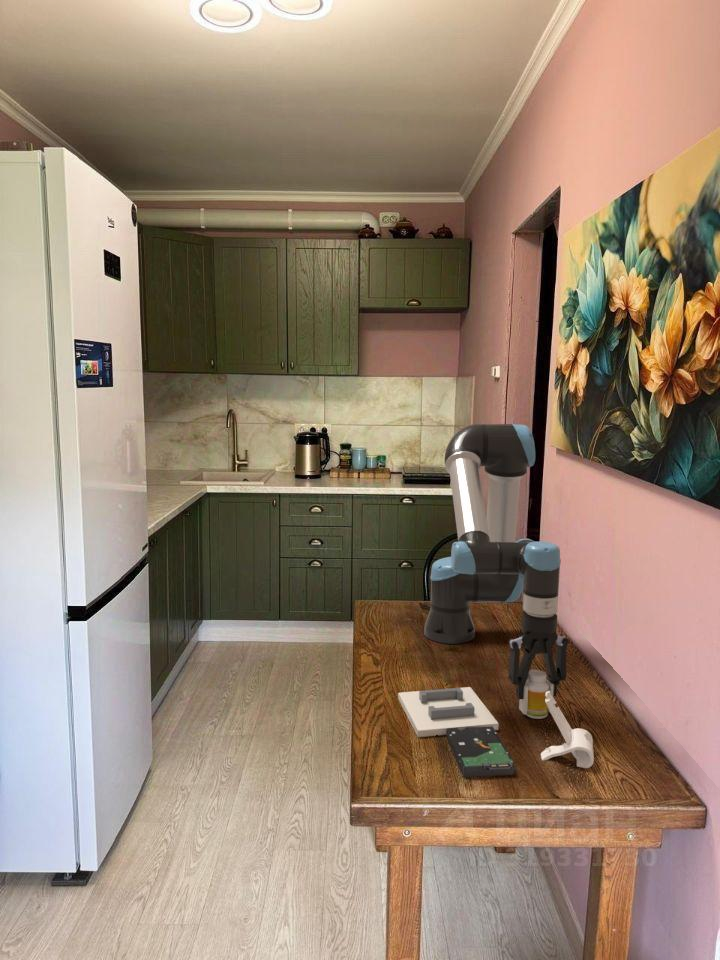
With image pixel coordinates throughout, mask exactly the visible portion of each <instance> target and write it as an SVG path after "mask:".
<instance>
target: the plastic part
mask: <svg viewBox="0 0 720 960" xmlns="http://www.w3.org/2000/svg"><path fill="white" fill-rule="evenodd" d="M545 696H546V698H547V699H545V700H546V701H545V703H546V704H547V706H548V709H549V711H550V712H549V711H548V712H549V713H550V714H551V716H552V718H553V721H554V722H555V723H556V726H557V727H558V730H559V731H560V733H561V735H562V737H563V738H564V743H562V744H561V745H551V746H549V747H545V749H543V751H542V752H541V753H540V758H541V760H542V761H548V760H550V759H552V758H554V757H559V756H563V755H565V754H568V753H571V754H572V756H573V757H574V758H575V759H576V767H577V768H578V767H579V768H583V769H589V768H591V767H592V766H593V764H594V762H595V756H594V746H593V743H594V740H593V736H592V734H591V733H590V731H588V730H586V729H584V728H578V727H577V728H572V727H571V725H570V724H569V722H568V721H567V719H566V717H565V715H564V713H563V712H562V710H561V708H560V706H558V707H557V706H556V704H557V701H556V699H554V696H553V697H552V695H551V693H550V691H548V692H546V695H545Z"/></svg>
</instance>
